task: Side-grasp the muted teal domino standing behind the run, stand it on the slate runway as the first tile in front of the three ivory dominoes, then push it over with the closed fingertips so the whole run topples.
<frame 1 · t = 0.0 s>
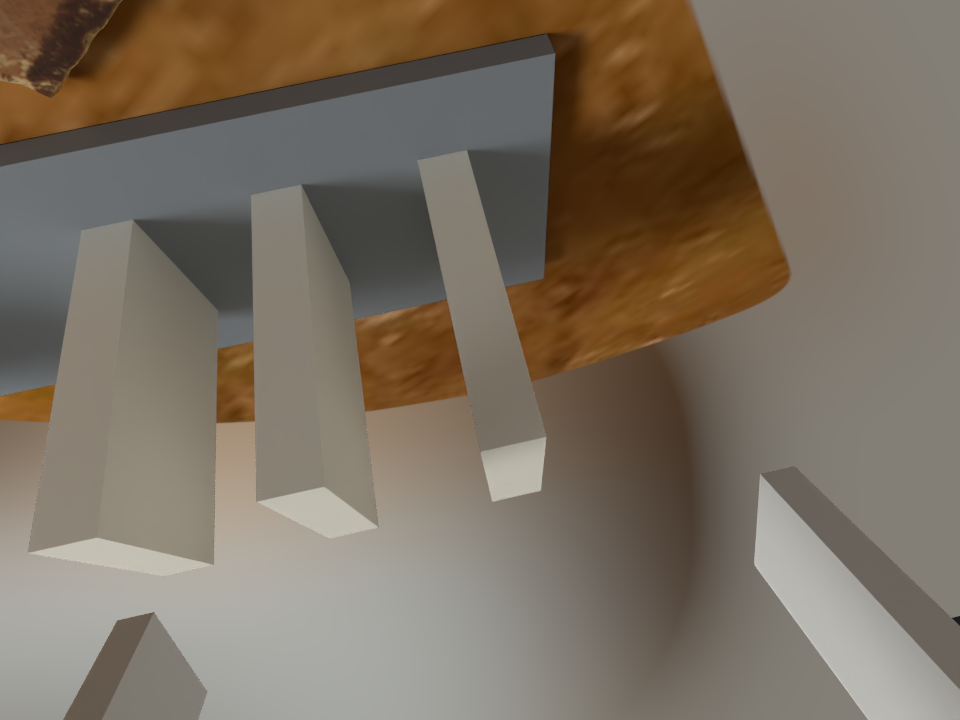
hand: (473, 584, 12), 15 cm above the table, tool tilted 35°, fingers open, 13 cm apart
ivory domino 1: (158, 275, 22), point 1 cm above the table, touching slate runway
slate runway: (208, 245, 22), on the table
ivory domino 2: (306, 244, 22), point 1 cm above the table, touching slate runway
ivory domino 3: (452, 213, 22), point 1 cm above the table, touching slate runway
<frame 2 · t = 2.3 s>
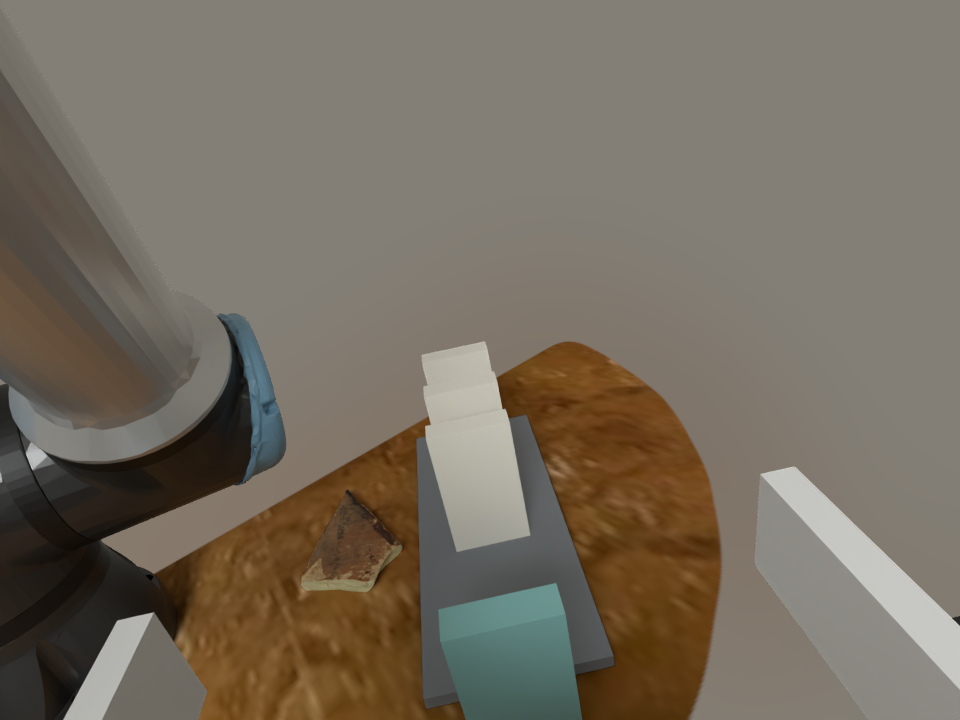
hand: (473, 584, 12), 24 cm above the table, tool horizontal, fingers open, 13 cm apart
ivory domino 1: (492, 535, 44), point 1 cm above the table, touching slate runway
slate runway: (490, 526, 47), on the table
ivory domino 2: (483, 487, 50), point 1 cm above the table, touching slate runway
ivory domino 3: (475, 448, 55), point 1 cm above the table, touching slate runway
shard: (343, 557, 48), on the table
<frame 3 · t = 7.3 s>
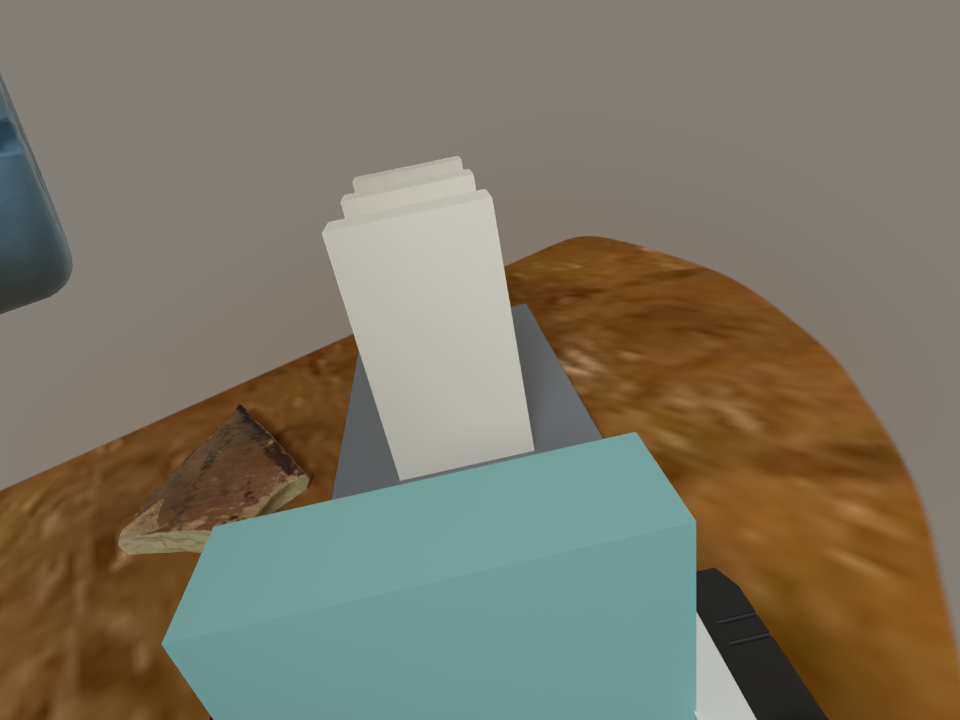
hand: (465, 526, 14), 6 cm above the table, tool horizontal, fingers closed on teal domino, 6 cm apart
ivory domino 1: (465, 453, 25), point 1 cm above the table, touching slate runway
slate runway: (465, 445, 27), on the table
ivory domino 2: (454, 389, 30), point 1 cm above the table, touching slate runway
ivory domino 3: (447, 344, 35), point 1 cm above the table, touching slate runway
shard: (214, 503, 28), on the table
when the fingers open (8 cm above the table, at t = 11.9 s): teal domino stays where it is, resting on slate runway.
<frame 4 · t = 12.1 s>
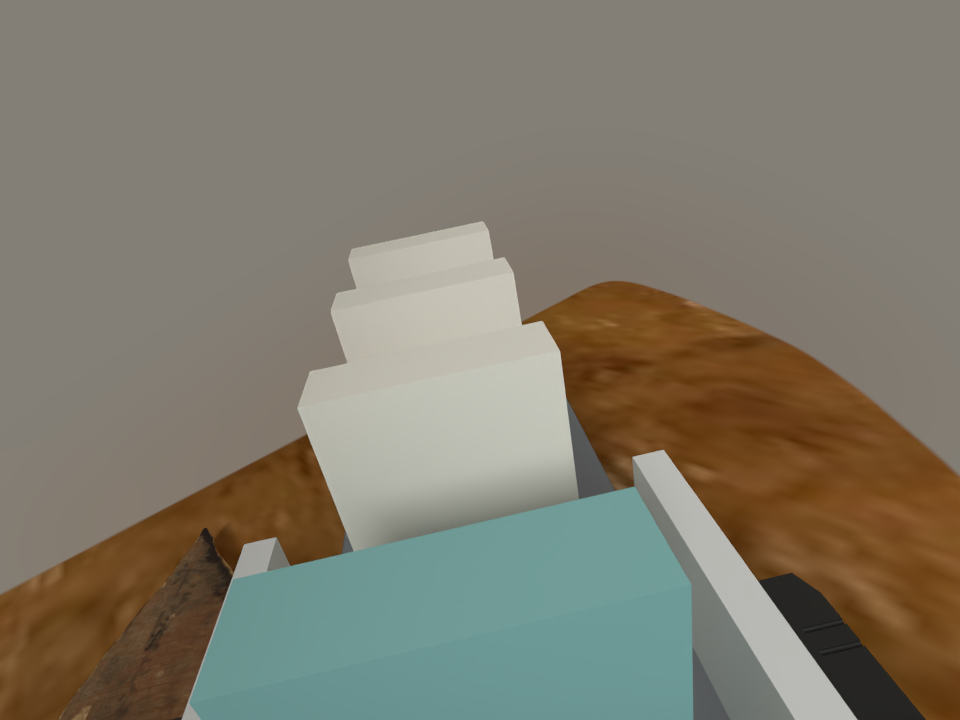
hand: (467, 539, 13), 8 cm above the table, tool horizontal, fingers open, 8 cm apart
ivory domino 1: (502, 653, 18), point 1 cm above the table, touching slate runway
slate runway: (497, 621, 20), on the table
ivory domino 2: (480, 524, 23), point 1 cm above the table, touching slate runway
ivory domino 3: (466, 444, 29), point 1 cm above the table, touching slate runway
shard: (163, 689, 21), on the table
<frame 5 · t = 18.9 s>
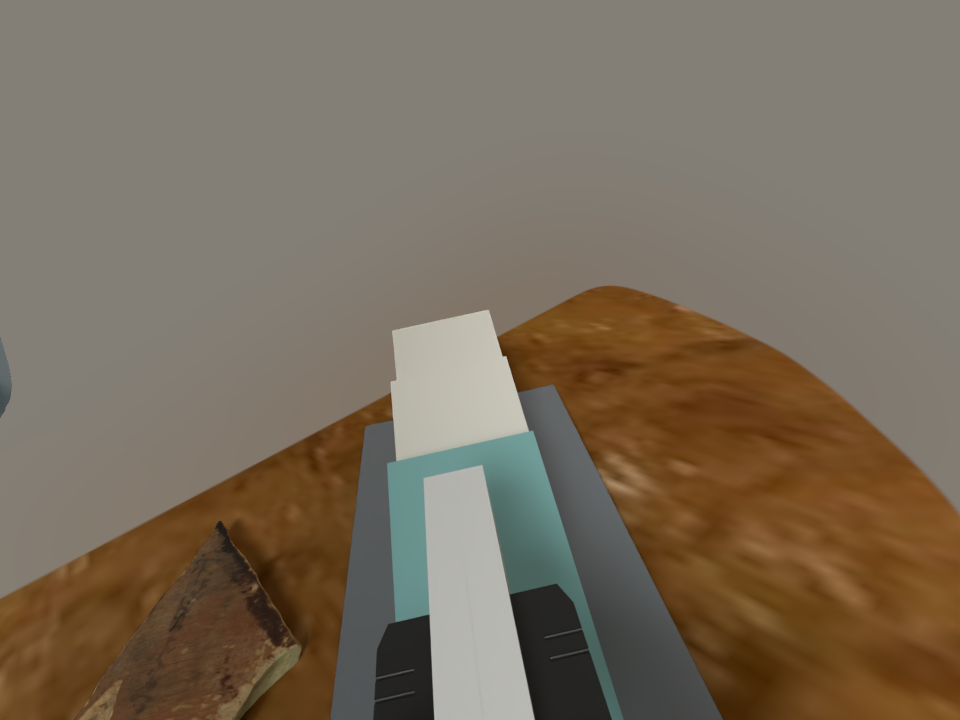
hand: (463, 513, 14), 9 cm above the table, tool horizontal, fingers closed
ivory domino 1: (490, 587, 21), point 2 cm above the table, tilted 73°, touching ivory domino 2, slate runway, teal domino
slate runway: (495, 602, 22), on the table
ivory domino 2: (471, 479, 26), point 2 cm above the table, tilted 72°, touching ivory domino 1, ivory domino 3
shard: (186, 667, 23), on the table
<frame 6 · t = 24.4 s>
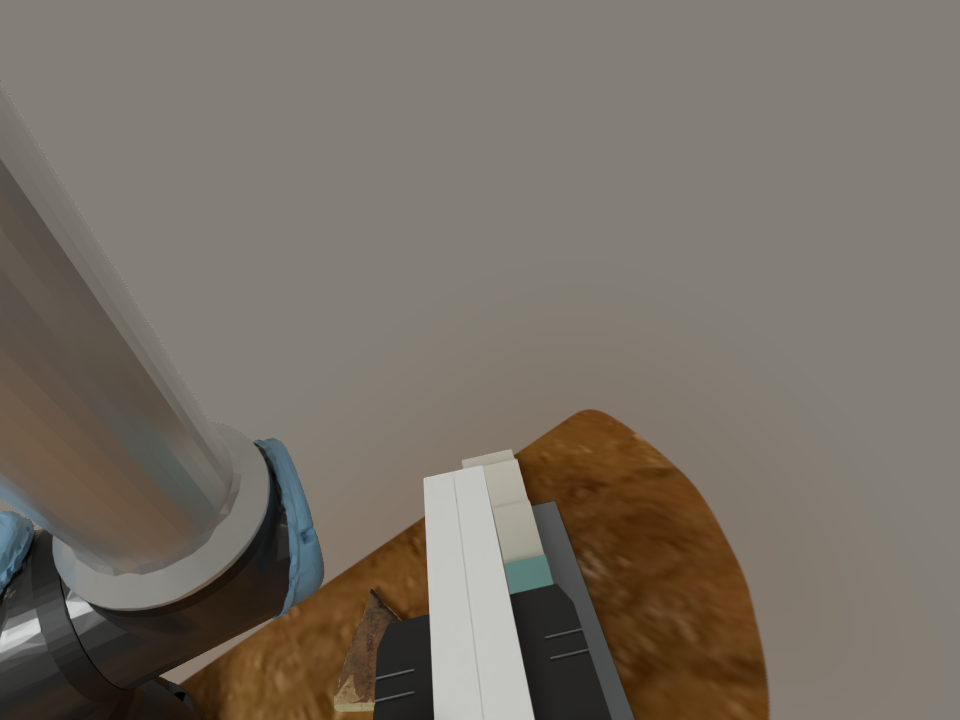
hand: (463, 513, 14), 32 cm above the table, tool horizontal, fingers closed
ivory domino 1: (525, 631, 44), point 2 cm above the table, tilted 73°, touching ivory domino 2, slate runway, teal domino
slate runway: (527, 637, 46), on the table
ivory domino 2: (512, 570, 50), point 2 cm above the table, tilted 71°, touching ivory domino 1, ivory domino 3
ivory domino 3: (502, 526, 55), point 2 cm above the table, tilted 90°, touching ivory domino 2, slate runway
shard: (373, 669, 47), on the table
teal domino: (544, 715, 38), point 2 cm above the table, tilted 74°, touching ivory domino 1, slate runway
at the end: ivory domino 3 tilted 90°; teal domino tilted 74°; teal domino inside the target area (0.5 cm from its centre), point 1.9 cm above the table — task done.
